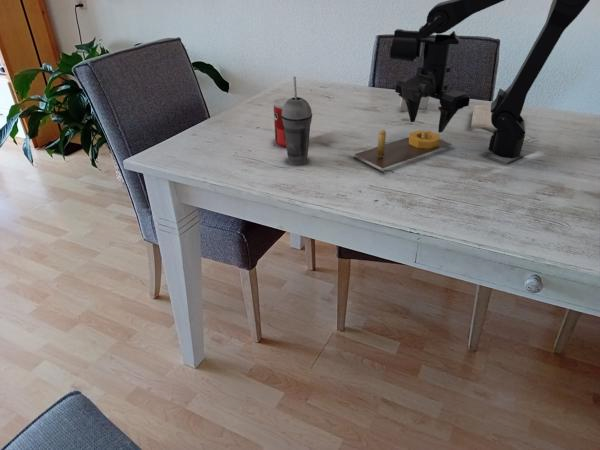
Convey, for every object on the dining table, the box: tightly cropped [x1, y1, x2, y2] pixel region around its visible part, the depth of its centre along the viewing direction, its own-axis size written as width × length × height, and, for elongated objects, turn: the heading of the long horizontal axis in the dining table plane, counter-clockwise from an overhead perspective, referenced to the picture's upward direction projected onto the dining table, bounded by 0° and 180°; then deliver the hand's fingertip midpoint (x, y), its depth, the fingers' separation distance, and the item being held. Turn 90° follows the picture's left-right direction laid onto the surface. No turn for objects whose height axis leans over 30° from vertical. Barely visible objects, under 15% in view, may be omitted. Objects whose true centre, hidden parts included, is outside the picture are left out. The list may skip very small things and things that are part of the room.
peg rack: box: [353, 129, 452, 174], centre depth 111 cm, size 10×24×8 cm, turn 125°
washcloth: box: [470, 104, 497, 133], centre depth 130 cm, size 12×18×3 cm, turn 159°
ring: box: [408, 130, 441, 148], centre depth 116 cm, size 7×7×2 cm
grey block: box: [399, 96, 430, 113], centre depth 141 cm, size 8×10×10 cm
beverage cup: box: [281, 76, 313, 166], centre depth 105 cm, size 7×7×20 cm
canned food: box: [273, 97, 292, 149], centre depth 118 cm, size 8×8×11 cm
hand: (426, 127), depth 114 cm, fingers open, 9 cm apart
